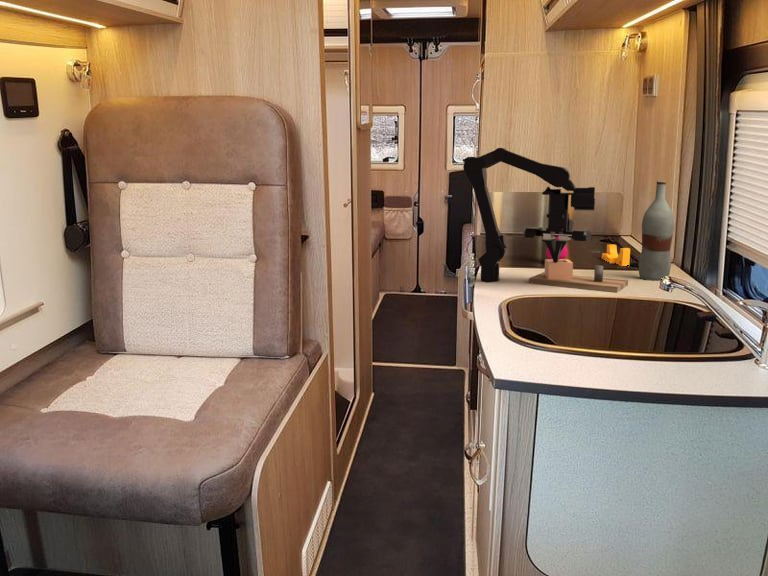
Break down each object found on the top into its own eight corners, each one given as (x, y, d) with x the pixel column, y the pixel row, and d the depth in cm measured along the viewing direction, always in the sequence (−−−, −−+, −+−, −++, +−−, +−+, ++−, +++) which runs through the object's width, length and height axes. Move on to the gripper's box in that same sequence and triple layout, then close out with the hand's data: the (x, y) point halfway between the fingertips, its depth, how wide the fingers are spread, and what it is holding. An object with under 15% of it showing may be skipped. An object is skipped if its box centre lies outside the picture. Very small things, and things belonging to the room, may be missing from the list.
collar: (572, 279, 186) (573, 263, 185) (548, 279, 187) (549, 262, 186) (567, 275, 193) (568, 259, 192) (544, 275, 193) (545, 259, 192)
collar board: (617, 292, 175) (618, 271, 173) (528, 283, 189) (529, 263, 188) (627, 285, 184) (629, 265, 183) (543, 276, 199) (543, 258, 198)
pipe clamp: (601, 262, 227) (602, 244, 226) (612, 261, 228) (613, 244, 227) (617, 267, 216) (618, 249, 214) (629, 267, 216) (630, 248, 215)
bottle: (636, 279, 193) (644, 181, 187) (638, 274, 201) (645, 180, 195) (670, 281, 189) (678, 181, 183) (670, 276, 197) (678, 180, 191)
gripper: (598, 209, 185) (594, 261, 188) (537, 207, 195) (535, 256, 198) (586, 212, 176) (583, 266, 179) (524, 209, 186) (522, 261, 189)
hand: (555, 262), depth 186 cm, fingers closed, pressing on collar
